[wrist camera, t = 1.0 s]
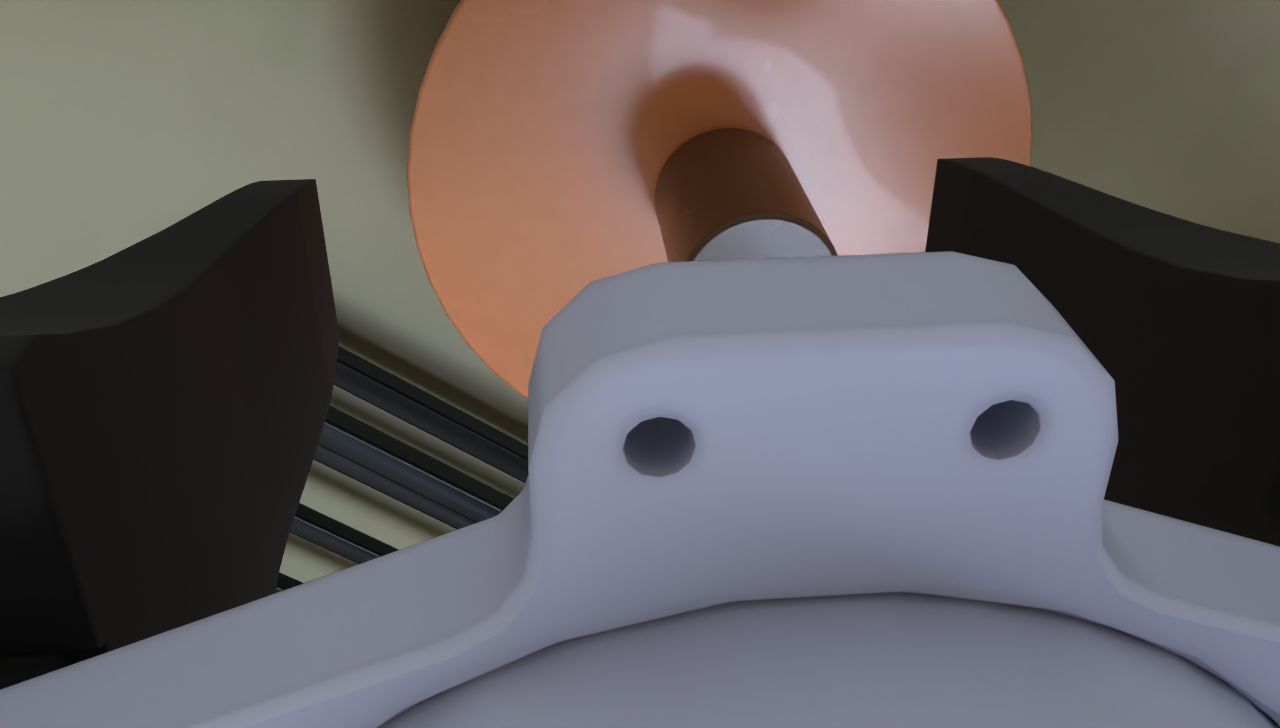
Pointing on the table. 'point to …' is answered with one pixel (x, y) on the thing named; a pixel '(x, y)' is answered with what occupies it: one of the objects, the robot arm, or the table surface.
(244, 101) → the table surface
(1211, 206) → the table surface
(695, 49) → the lid
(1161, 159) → the table surface
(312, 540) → the dish rack
